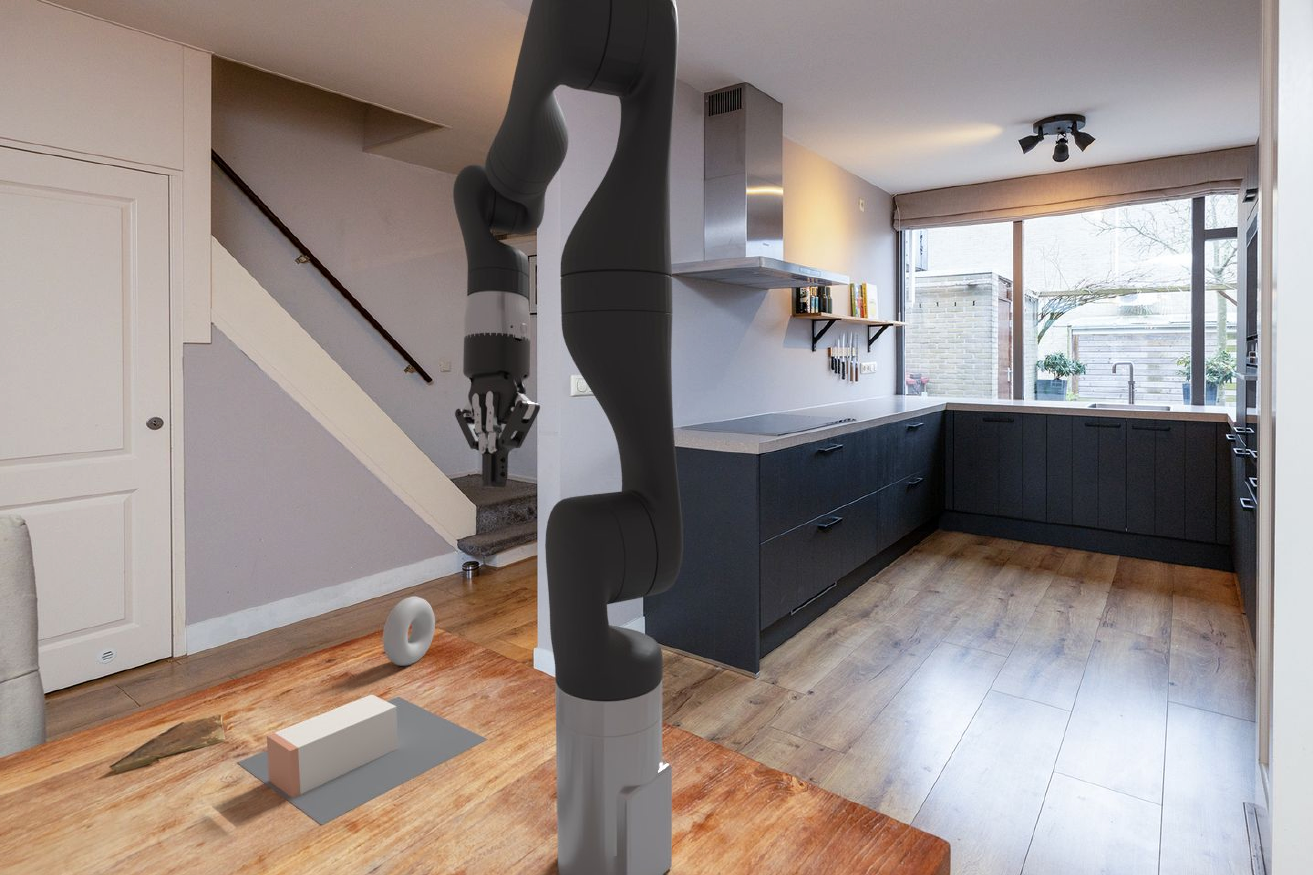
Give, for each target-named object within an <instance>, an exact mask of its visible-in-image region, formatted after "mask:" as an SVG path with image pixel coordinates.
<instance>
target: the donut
mask: <svg viewBox="0 0 1313 875" xmlns="http://www.w3.org/2000/svg"><path fill="white" fill-rule="evenodd" d="M435 617H436V616H435V614H434V611H433V608H432V606H431V604H430V603H429V602H428V601H427V600H426V599H424V598H422V597H419V596H415V595H414V596H410V597H406V598H403V599H402V600H401V601H399V602H398V603H396V605H395V606H394V607H393V609H392V610H391V611H390V612H389V614H388V616H387V619H386V621H385V623H384V627H383V631H382V632H383V633H382V645H383V650H384V653H385V655H386V657H387V659H388V660H389V661H391V663H393V664H394V665H396V666H401V667H406V666H411V665H413V664H415V663H416V662H418V661H420V660H421V659H423V656H425V655H426V653H427V652H428V650H429V648H430V646H431V644H432V641H433V639H434V636H435V630H436V629H435V627H436V618H435ZM410 627H411V631H410V630H409V629H410ZM409 631H410V634H408V633H409Z"/></svg>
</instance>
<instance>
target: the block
mask: <svg viewBox="0 0 1313 875" xmlns="http://www.w3.org/2000/svg"><path fill="white" fill-rule="evenodd" d="M386 701H387V700H385V699H382V698H380V697H378V696H376V695H374V694H369V695H367V696H364V697H362V698H359V699H357V700H354V701H351V702H349V703H347V704H344V705H342V706H339V707H336V708H334V709H331V710H328V711H326V712H323V713H320V714H319V715H318V714H317V715H316V716H312V717H311V718H308V719H306V720H303V721H301V722H297V723H295V724H293V725H290V726H288V727H285V728H283V729H281V730H278V731H275V732H272V733H270V734H267V735H266V750H267V751H268V768H269V781H270V782H271V783H273V784H274V785H275V786H277V787H278V788H279V789H281V790H282V791H284V792H285V793H286V794H288V795H289V796H290V797H292V798H294V797H296V796H298V795H300V794H303V793H305V792H307V791H309V790H311V789H313V788H315V787H317V786H320V785H322V784H324V783H326V782H328V781H330V780H332V779H334V778H337V777H339V776H341V775H343V774H345V773H347V772H349V771H351V770H353V769H356V768H358V767H360V766H362V765H364V764H366V763H368V762H370V761H373V760H375V759H377V758H379V757H381V756H383V755H385V754H387V753H389V752H392V751H394V750H396V749H398V732H397V706H395V705H393V704H391V703H388V702H386Z"/></svg>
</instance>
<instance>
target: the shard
mask: <svg viewBox="0 0 1313 875" xmlns="http://www.w3.org/2000/svg"><path fill="white" fill-rule="evenodd" d="M225 741H226V737H225V728H224V726H223V715H222V714H221V713H218V714H214V715H210V716H206V717H202V718H197V719H193V720H189V721H182V722H180V723H178V724H175V725H174V726H172V727H170V728H168V729H167V730H166V731H165V732H162V733H160V734H158V735H156V736H155V737H153V738H151V739H149V740H148V741H147V742H145V743H143V744H142V745H140V746H139V747H137V748H136V749H135V750H134V751H132V752H130V753H129V754H127V755H126V756H125V757H122V758H121V759H120V760H118V761H115V762H114V763H113V764H110V765H109V767H108V768H109V769H112V770H114V774H118V773H123V772H127V771H130V770H132V769H136V768H140V767H143V766H146V765H149V764H154V763H157V762H160V760H159V759H158V758H162V757H167V756H171V755H174V754H177V753H178V754H179V753H183V752H186V751H192V750H195V749H201V748H204V747H208V746H211V745H215V744H218V743H222V742H223V743H224V742H225Z"/></svg>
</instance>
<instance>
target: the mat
mask: <svg viewBox="0 0 1313 875" xmlns="http://www.w3.org/2000/svg"><path fill="white" fill-rule="evenodd" d="M385 701H386V702H388V703H391V704H393V705H395V706H397V732H398V749H396V750H394V751H392V752H389V753H387V754H385V755H383V756H381V757H379V758H377V759H375V760H373V761H370V762H368V763H366V764H364V765H362V766H360V767H358V768H356V769H353V770H351V771H349V772H347V773H345V774H343V775H341V776H339V777H337V778H334V779H332V780H330V781H328V782H326V783H324V784H322V785H320V786H317V787H315V788H313V789H311V790H309V791H307V792H305V793H303V794H300V795H298V796H296V797H294V798H292V797H290V796H289V795H288V794H286V793H285V792H284V791H282V790H281V789H279V788H278V787H277V786H275V785H274V784H273V783H271V782H270V781H269V768H268V751H267V749H266V750H265V751H262V752H259V753H256V754H253V755H252V756H250V757H247V758H245V759H242V760H239V761H237V762H236V763H237V764H238V765H239V766H240V767H242V768H244V769H245V770H246V771H247V772H249V773H250V774H251V775H253V776H254V777H255V778H257V779H258V780H260V782H262V783H264V784H265V785H266V786H267V787H269V788H270V789H271V790H272V791H274V792H276V793H277V794H278V795H280V797H282V798H284V799H285V800H286V801H288V802H289V803H291V804H292V805H294V807H296V808H298V809H299V810H300V811H301V812H302V813H304V814H305V815H306V816H308V817H310V818H311V819H312V820H314V821H315V822H316V823H318V824H319V826H323V825H325V824H327V823H329V822H331V821H334V820H335V819H337V818H339V817H341V816H343V815H345V814H347V813H349V812H351V811H352V810H355V809H356V808H359V807H360V806H362V805H365V804H366V803H368V802H370V801H372V800H374V799H376V798H378V797H379V796H381V795H383V794H385V793H388V792H389V791H392V790H393V789H395V788H397V787H400V786H401V785H403V784H404V783H406V782H408V781H411V780H413V779H414V778H416V777H418V776H421V775H422V774H424V773H427V772H428V771H430V770H432V769H434V768H436V767H437V766H439V765H442V764H444V763H446V762H447V761H449V760H451V759H453V758H455V757H457V756H459V755H461V754H463V753H465V752H467V751H468V750H471V749H472V748H474V747H476V746H478V745H480V744H482V743H484V742H486V741H488V739H489V738H487V737H484V736H482V735H480V734H478V733H475V732H474V731H472V730H469V729H467V728H466V727H463V726H462V725H461V726H460V725H458V724H456V723H455V722H452V721H450V720H448V719H446V718H444V717H442V716H440V715H438V714H436V713H434V712H432V711H430V710H427V709H425V708H423V707H421V706H419V705H417V704H414V703H413V702H411V701H408V700H406V699H404V698H402V697H400V696H396V697H394V698H392V699H388V700H385Z"/></svg>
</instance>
